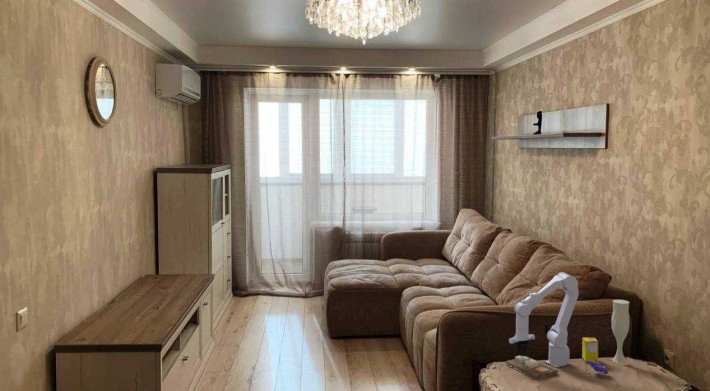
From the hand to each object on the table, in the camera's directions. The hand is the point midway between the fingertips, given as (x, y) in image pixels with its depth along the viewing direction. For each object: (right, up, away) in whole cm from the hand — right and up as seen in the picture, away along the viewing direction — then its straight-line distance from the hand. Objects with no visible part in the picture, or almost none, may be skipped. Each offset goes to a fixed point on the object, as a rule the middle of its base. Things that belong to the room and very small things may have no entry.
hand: (521, 355), depth 272 cm
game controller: (+31, -6, -13) cm, 34 cm away
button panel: (+3, -5, -5) cm, 8 cm away
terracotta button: (+6, -5, -11) cm, 14 cm away
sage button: (0, -3, 0) cm, 3 cm away
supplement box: (+35, -4, +5) cm, 35 cm away
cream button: (+3, -4, -6) cm, 7 cm away
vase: (+48, -4, +3) cm, 48 cm away
